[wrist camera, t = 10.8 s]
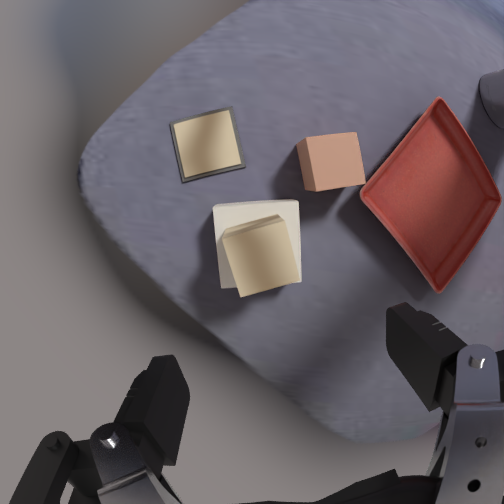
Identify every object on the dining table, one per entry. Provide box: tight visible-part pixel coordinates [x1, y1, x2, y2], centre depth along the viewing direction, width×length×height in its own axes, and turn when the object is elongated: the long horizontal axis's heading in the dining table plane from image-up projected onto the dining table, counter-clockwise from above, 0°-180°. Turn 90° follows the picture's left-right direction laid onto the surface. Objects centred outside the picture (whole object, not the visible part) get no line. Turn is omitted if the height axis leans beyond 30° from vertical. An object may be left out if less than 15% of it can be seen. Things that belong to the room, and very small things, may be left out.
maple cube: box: [222, 214, 300, 297], centre depth 25 cm, size 5×5×5 cm
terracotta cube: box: [296, 132, 366, 192], centre depth 26 cm, size 5×5×5 cm
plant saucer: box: [359, 96, 502, 294], centre depth 28 cm, size 18×18×3 cm
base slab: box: [213, 199, 301, 288], centre depth 29 cm, size 8×8×4 cm
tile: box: [170, 106, 246, 182], centre depth 28 cm, size 7×7×1 cm
